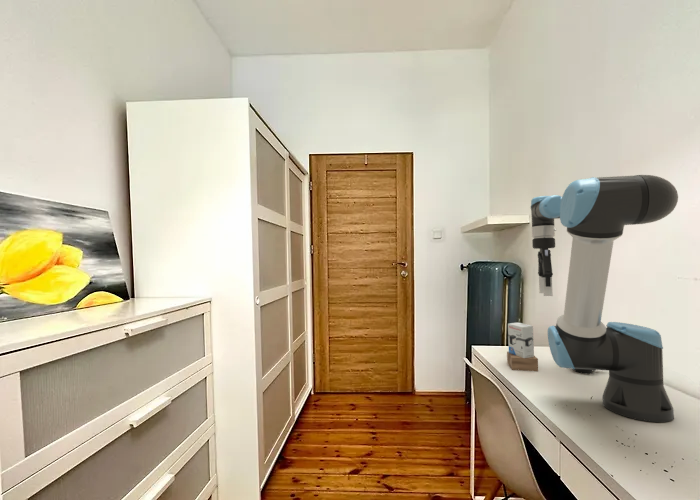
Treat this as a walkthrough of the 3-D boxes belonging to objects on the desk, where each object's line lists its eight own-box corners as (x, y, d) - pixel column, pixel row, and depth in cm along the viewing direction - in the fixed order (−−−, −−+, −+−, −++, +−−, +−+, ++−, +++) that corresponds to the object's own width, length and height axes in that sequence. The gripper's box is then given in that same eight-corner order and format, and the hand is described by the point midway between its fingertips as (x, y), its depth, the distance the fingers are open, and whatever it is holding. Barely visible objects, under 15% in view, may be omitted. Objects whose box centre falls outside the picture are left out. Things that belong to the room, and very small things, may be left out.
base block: (538, 372, 130) (537, 358, 130) (512, 371, 132) (511, 357, 132) (531, 365, 139) (531, 352, 139) (507, 363, 141) (506, 351, 141)
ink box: (508, 352, 139) (507, 322, 140) (518, 351, 140) (517, 322, 141) (523, 358, 131) (522, 326, 131) (534, 357, 132) (533, 326, 132)
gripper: (560, 234, 119) (563, 297, 118) (550, 239, 142) (552, 292, 141) (535, 235, 122) (537, 296, 121) (529, 240, 145) (531, 292, 144)
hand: (545, 294), depth 131 cm, fingers open, 13 cm apart
